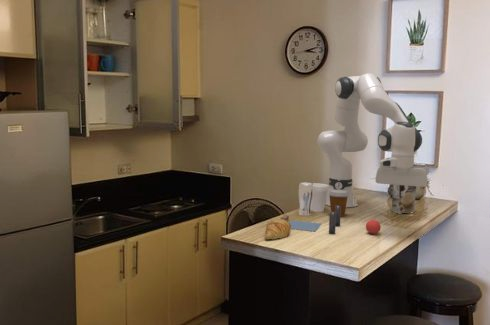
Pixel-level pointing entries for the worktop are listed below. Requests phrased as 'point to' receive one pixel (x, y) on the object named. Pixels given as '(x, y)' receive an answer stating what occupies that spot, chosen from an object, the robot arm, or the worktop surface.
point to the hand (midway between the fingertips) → (400, 195)
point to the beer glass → (305, 198)
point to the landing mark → (304, 225)
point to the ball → (373, 226)
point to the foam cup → (319, 197)
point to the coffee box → (404, 200)
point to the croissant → (277, 229)
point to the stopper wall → (285, 218)
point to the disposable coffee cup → (338, 200)
